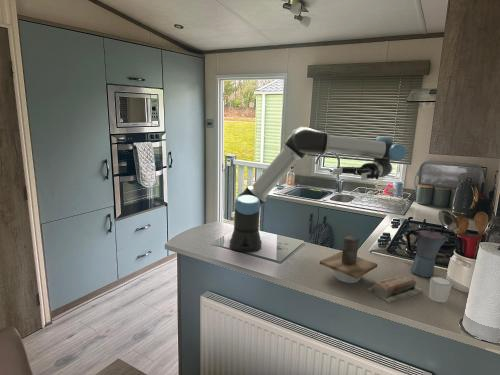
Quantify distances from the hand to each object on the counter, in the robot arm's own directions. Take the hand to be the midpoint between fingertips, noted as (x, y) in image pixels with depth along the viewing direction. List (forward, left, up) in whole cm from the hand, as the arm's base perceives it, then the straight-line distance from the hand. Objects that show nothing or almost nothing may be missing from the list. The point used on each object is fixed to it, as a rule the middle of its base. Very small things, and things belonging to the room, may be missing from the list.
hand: (347, 174), depth 148 cm
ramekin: (+13, -15, -38) cm, 43 cm away
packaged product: (+30, -11, -39) cm, 50 cm away
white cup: (+43, -4, -38) cm, 58 cm away
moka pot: (+31, +13, -38) cm, 51 cm away
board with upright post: (+13, -15, -33) cm, 38 cm away
